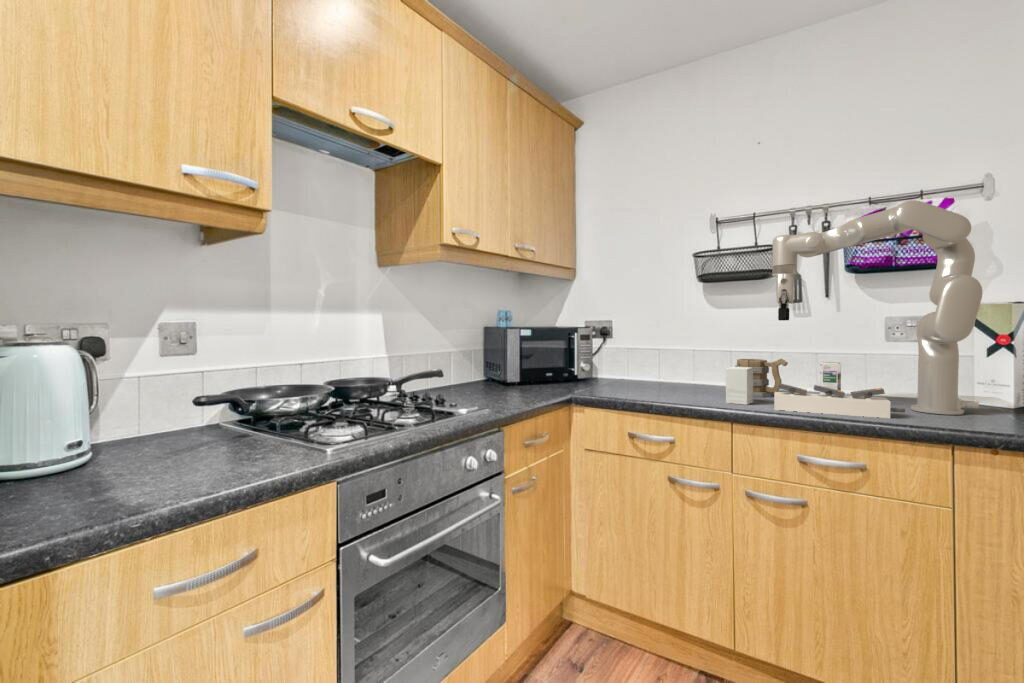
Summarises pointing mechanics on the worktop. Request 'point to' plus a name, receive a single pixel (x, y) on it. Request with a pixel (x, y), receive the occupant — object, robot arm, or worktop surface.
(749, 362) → the tankard
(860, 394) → the rocker
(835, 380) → the syrup box
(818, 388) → the rocker
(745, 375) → the supplement box
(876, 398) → the power strip
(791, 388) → the rocker
